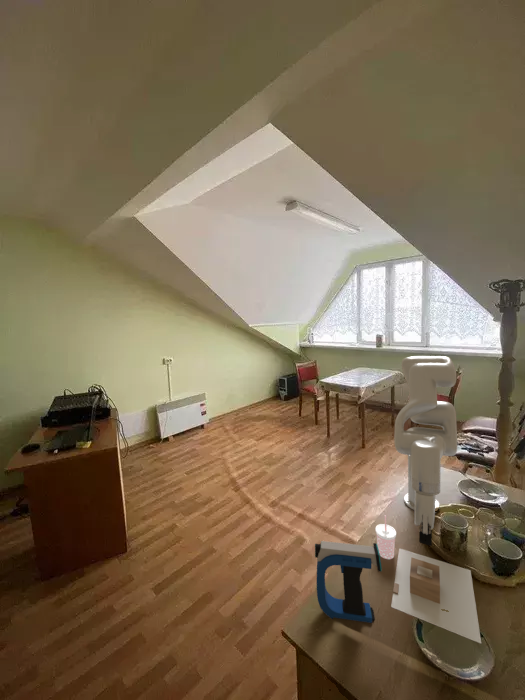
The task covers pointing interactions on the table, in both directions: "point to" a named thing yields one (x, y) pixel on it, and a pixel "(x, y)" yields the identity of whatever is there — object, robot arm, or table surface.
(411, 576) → the block
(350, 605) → the handheld scanner
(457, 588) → the subfloor panel
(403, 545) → the table surface
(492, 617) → the table surface
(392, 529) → the beverage cup
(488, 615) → the table surface
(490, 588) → the table surface
